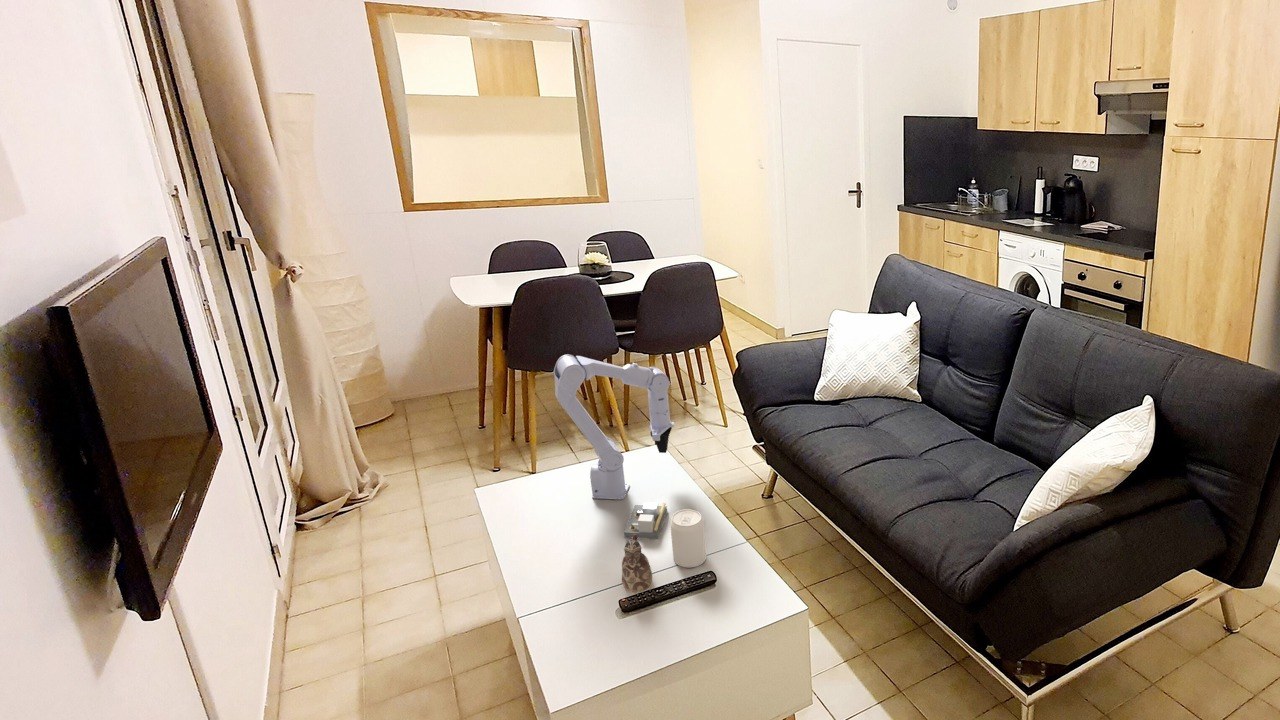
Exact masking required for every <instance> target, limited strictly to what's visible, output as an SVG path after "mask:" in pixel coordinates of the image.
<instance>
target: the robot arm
mask: <svg viewBox="0 0 1280 720" xmlns="http://www.w3.org/2000/svg"><path fill="white" fill-rule="evenodd" d="M553 376H554V392H555V393H554V394H555V398H556V400H557V401H558V403H559V404H560V406H561V407H562V409H563V410H564V411H565V412H566V414H567V415H568V416H569V418H570V419H571V420H572V421H573V423H574V424H575V425H576V427H577V428H578V429H579V431H580V432H581V433H582V434H583V436H584V437H585V438H586V439H587V441H588V442H589V444H590V445H591V446H592V448H593V449H594V451H595V452H594V453H595V455H596V456H597V457H598V462H597V463H593V464H592V465H591V468H590V472H589V474H590V475H589V479H590V485H591V486H590V488H591V493H592V496H591V498H592V499H603V500H605V499H606V500H624V499H625V497H626V494H627V492H628V491H629V488H630V483H626V481H625V472H624V455H623V453H622V452H621V451H620V450H619V448H618V447H617V445H616V442H615V440H613V438H612V439H611V438H610V437H608V436H606V435H605V433H604V432H603V431H602V430H601V429H600V427H599V426H598V424H597V423H596V421H595V420H594V419H593V417H591V415H590V414H589V412H588V411H587V410H586V409H585V407H584V406H583V404H582V403H581V402H580V400H579V399H578V397H577V396H576V395H577V391H578V390H579V388H580V386H582V384H583V383H584V381H585V380H586V381H589V380H590V379H592V378H593V377H594V376H599V377H606V378H614V379H618V380H621V382H622V384H624V385H627V386H633V387H638V388H641V389H647V400H648V401H647V402H648V409H649V422H650V424H649V426H650V437H651V438H652V441H653V442H655V444H656V447H657V450H658V453H661V454H665V453H667V451H668V445H669V439H670V434H671V431H672V428H673V427H675V424H676V423H675V422H674V421H671V417H670V416H671V415H670V402H669V393H668V389H669V388H670V385H671V381H670V380H669V377H668V376H667V375H666V373H664V372H663V371H662V369H660V368H658V367H656V366H649V367H646V366H640V365H639V364H638V363H635V362H632V363H631V364H630V363H627V364H625V365H624V366H619V365H616V364H612V363H609V362H603V361H600V360H596V359H593V358H588V357H585V356H582V355H576V356H574V355H573V354H564V355H561V356H560V357H559V358H558V359H557V361H556V363H555V366H554V369H553Z"/></svg>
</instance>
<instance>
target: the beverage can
mask: <svg viewBox="0 0 1280 720" xmlns="http://www.w3.org/2000/svg"><path fill="white" fill-rule="evenodd" d="M669 523H670V525H669V526H670V535H671V536H670V537H671V548H672V556H673V557H672V558H673V562H674V563H675V564H677V565H678V566H680V567H683V568H696V567H699V566H701V565H702V564H703V563H704V562H706V559H707V545H706V544H707V543H706V530H705V520H704V517H703V516H702V514H701V513H700V511H698V510H696V509H689V508H687V509H686V508H685V509H679V510H677V511H676V512H674V513H673V514H672V517H671V519H670V522H669Z"/></svg>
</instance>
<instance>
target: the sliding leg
mask: <svg viewBox="0 0 1280 720" xmlns="http://www.w3.org/2000/svg"><path fill="white" fill-rule="evenodd" d="M643 505H644V506H643V511H637V512H636V515H639V514H646V515H654V518H655V519H657V517H658V514H659V507H658V506H659V502H647V501H646V502H644V503H643Z"/></svg>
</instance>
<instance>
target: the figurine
mask: <svg viewBox="0 0 1280 720" xmlns="http://www.w3.org/2000/svg"><path fill="white" fill-rule="evenodd" d="M623 551H624V556H623V558H622V562H621V573H622V574H621V583H622V585H623V587H624V588H625V590H626V591H627V592H628V593H634V594H638V593H642V592H645V591H647V590H649V589H650V587H651V586H652V583H653V573H652V568H651V565H650V562H649V560H648V559H649V558H648V557H647V556H646V555H645V554H644V553H642V545H641V543H640V542H639V540H638V538H637V535H635V534H633V538H632V539H629V540H627V542H625V545H624V548H623ZM641 591H642V592H641ZM637 592H638V593H637Z"/></svg>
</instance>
